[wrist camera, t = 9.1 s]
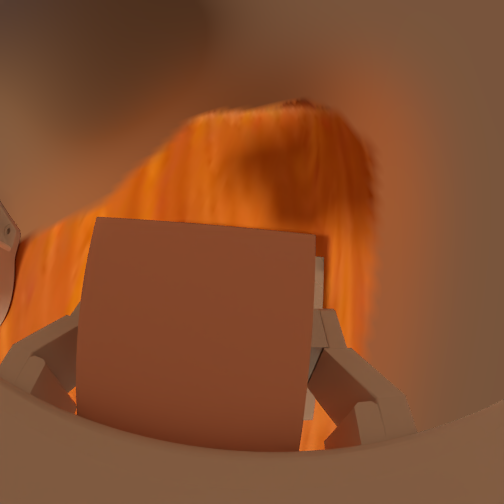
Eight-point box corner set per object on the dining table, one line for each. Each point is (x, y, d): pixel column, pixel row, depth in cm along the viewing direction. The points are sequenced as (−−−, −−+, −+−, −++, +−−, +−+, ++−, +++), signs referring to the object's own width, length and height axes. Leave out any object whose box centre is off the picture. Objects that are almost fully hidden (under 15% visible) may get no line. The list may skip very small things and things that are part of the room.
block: (166, 371, 12) (77, 424, 4) (175, 279, 13) (96, 216, 5) (261, 382, 12) (296, 461, 4) (268, 288, 13) (315, 234, 5)
